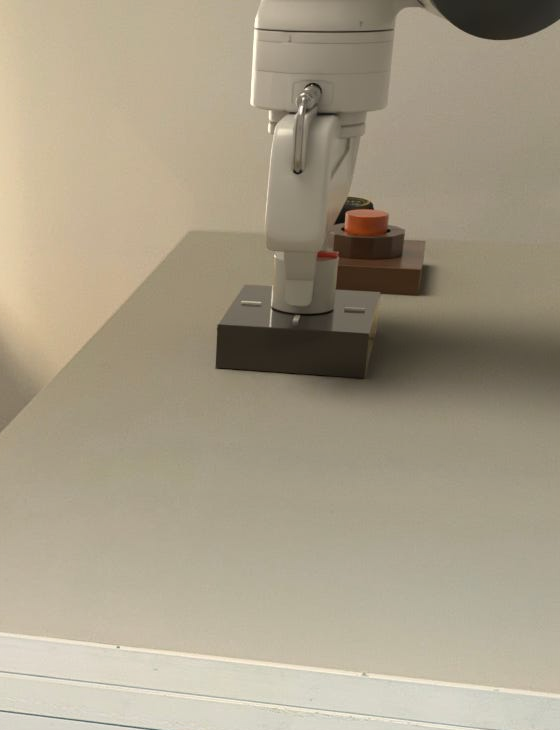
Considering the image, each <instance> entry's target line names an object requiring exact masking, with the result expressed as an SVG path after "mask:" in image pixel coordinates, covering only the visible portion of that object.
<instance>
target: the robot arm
mask: <svg viewBox="0 0 560 730" xmlns="http://www.w3.org/2000/svg"><path fill="white" fill-rule="evenodd" d="M407 8H420V9H422V10H424V11H426V12H428V13H430V14H432V15H434V16H436V17H438V18H440V19H443V20H445V21H447V22H449V23H450V24H452V25H453V26H454V27H455V28H457V29H459V30H460V31H462V32H463V33H465V34H468V35H470V36H473V37H476V38H479V39H484V40H488V41H489V40H490V41H511V40H517V39H521V38H526V37H528V36H531V35H532V36H533V35H534V34H537V33H539V32H541V31H544V30H545V29H547V28H549V27H550V26H552V25H553V24H555V23H557V22H558V21H560V0H260V3H259V6H258V9H257V12H256V16H255V19H254V27H253V28H254V29H253V44H252V47H253V48H252V64H251V65H252V67H251V68H252V69H251V84H250V85H251V86H250V105H251V106H252V107H253V108H256V109H259V110H265V111H268V124H267V132H268V134H270V135H271V136H273V137H272V143H271V150H270V158H269V169H268V170H269V171H268V179H267V180H268V182H267V191H266V204H265V205H266V206H265V216H264V217H265V218H264V242H265V248H266V249H268V250H269V251H272V252H280V251H281V252H284V263H285V273H286V290H285V301H286V303H287V304H288V305H290V306H308V305H309V304H310V303H311V301H312V299H313V296H314V285H315V268H316V261H317V254H318V252H319V251H320V250H323V251H326V247H327V242H328V236H329V233H330V231H331V229H332V227H333V225H334V223H335V221H336V219H337V217H338V215H339V213H340V211H341V209H342V207H343V205H344V204H345V202H346V200H347V197H349V194H350V191H351V186H352V181H353V178H354V173H355V169H356V165H357V164H356V163H357V159H358V152H359V148H360V142H361V137H362V136H363V135H365V134H366V125H367V123H366V121H367V117H368V116H367V114H368V113H369V112H376V111H380V110H383V109H384V110H385V108H386V107H387V106H388V101H389V93H390V91H389V90H390V83H391V71H392V61H393V53H394V52H393V51H394V42H395V41H394V39H395V32H396V30H395V28H396V22H397V18H398V14H399V13H400V12H401V11H402V10H404V9H407Z"/></svg>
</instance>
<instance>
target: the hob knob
mask: <svg viewBox="0 0 560 730" xmlns="http://www.w3.org/2000/svg"><path fill="white" fill-rule="evenodd" d="M338 262H339V252H333V251H323V250H320V251H319V252H318V254H317V261H316V268H315V285H314V296H313V299H312V301H311V303H310V304H309V305H308V306H290V305H288V304H287V303H286V301H285V290H286V273H285V263H284V252H281V251H276V252H275V253H274V255H273V266H272V267H273V268H272V280H271V281H272V282H271V286H272V295H271V306H272V307H273V308H274V309H276V310H279V311H283V312H287V313H295V314H318V313H324V312H328V311H331V310H333V309H334V307H335V296H336V285H337V273H338Z"/></svg>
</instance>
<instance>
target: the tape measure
mask: <svg viewBox="0 0 560 730" xmlns="http://www.w3.org/2000/svg"><path fill="white" fill-rule="evenodd" d="M361 209H366V210H375V207H374V203H373V202H372V201H371V200H369V199H367V198H363V197H356V196H348V197H347V200H346V202H345V204H344V205H343V207H342V209H341V211H340V213H339V215H338V217H337V219H336V221H335V223H334V225H336V224H341V223H345V215H346V212H347V211H350V210H361Z"/></svg>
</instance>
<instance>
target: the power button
mask: <svg viewBox="0 0 560 730" xmlns="http://www.w3.org/2000/svg"><path fill="white" fill-rule="evenodd" d="M389 217H390V213H389V212H387V211H384V210H378V209H374V210H366V209H361V210H350V211H347V212H346V215H345V227H344V232H347V233H353V234H365V235H374V234H385V233H387V229H388V225H389V221H390V219H389Z"/></svg>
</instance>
